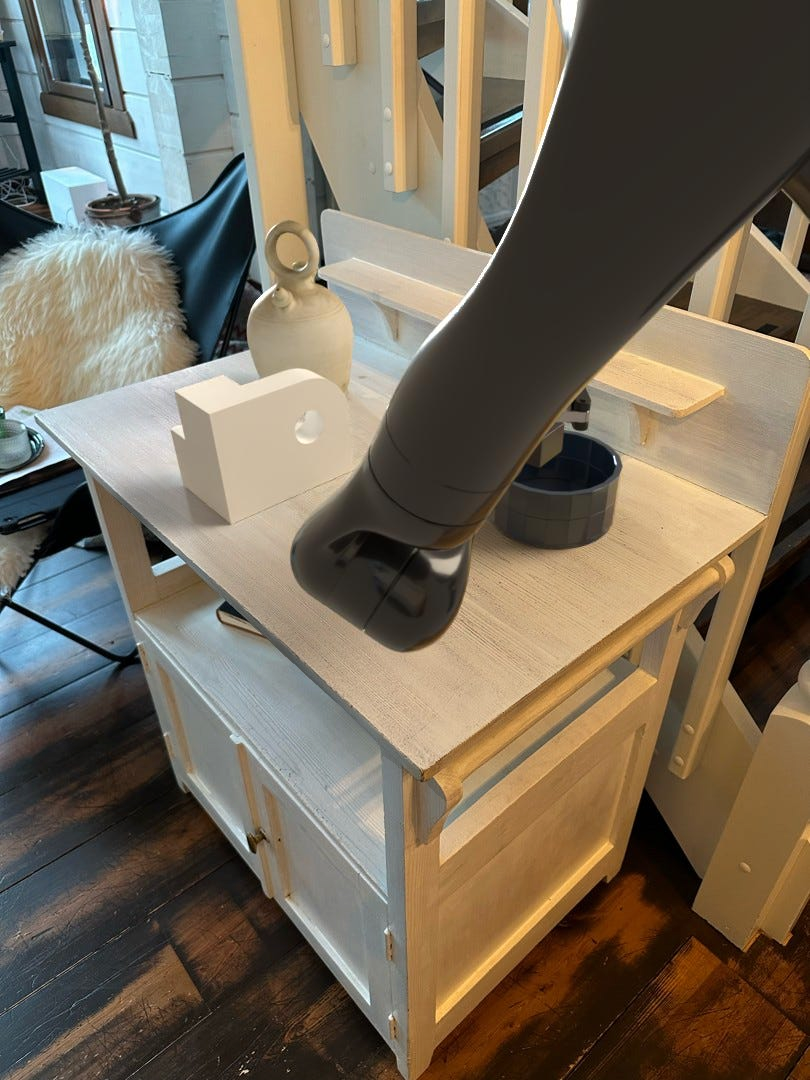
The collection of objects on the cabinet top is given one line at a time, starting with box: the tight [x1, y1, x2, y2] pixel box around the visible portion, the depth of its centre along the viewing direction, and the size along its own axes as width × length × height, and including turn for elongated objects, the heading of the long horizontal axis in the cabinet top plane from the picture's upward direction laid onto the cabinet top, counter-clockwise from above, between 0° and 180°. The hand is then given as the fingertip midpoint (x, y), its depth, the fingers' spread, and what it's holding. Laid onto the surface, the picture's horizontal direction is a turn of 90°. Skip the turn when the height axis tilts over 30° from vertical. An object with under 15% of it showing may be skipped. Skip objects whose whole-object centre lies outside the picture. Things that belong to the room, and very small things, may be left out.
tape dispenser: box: [169, 368, 355, 525], centre depth 92 cm, size 18×12×14 cm, turn 131°
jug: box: [246, 219, 355, 397], centre depth 108 cm, size 15×16×25 cm
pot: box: [488, 429, 624, 550], centre depth 86 cm, size 14×14×7 cm
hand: (543, 360), depth 69 cm, fingers closed on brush, 3 cm apart
